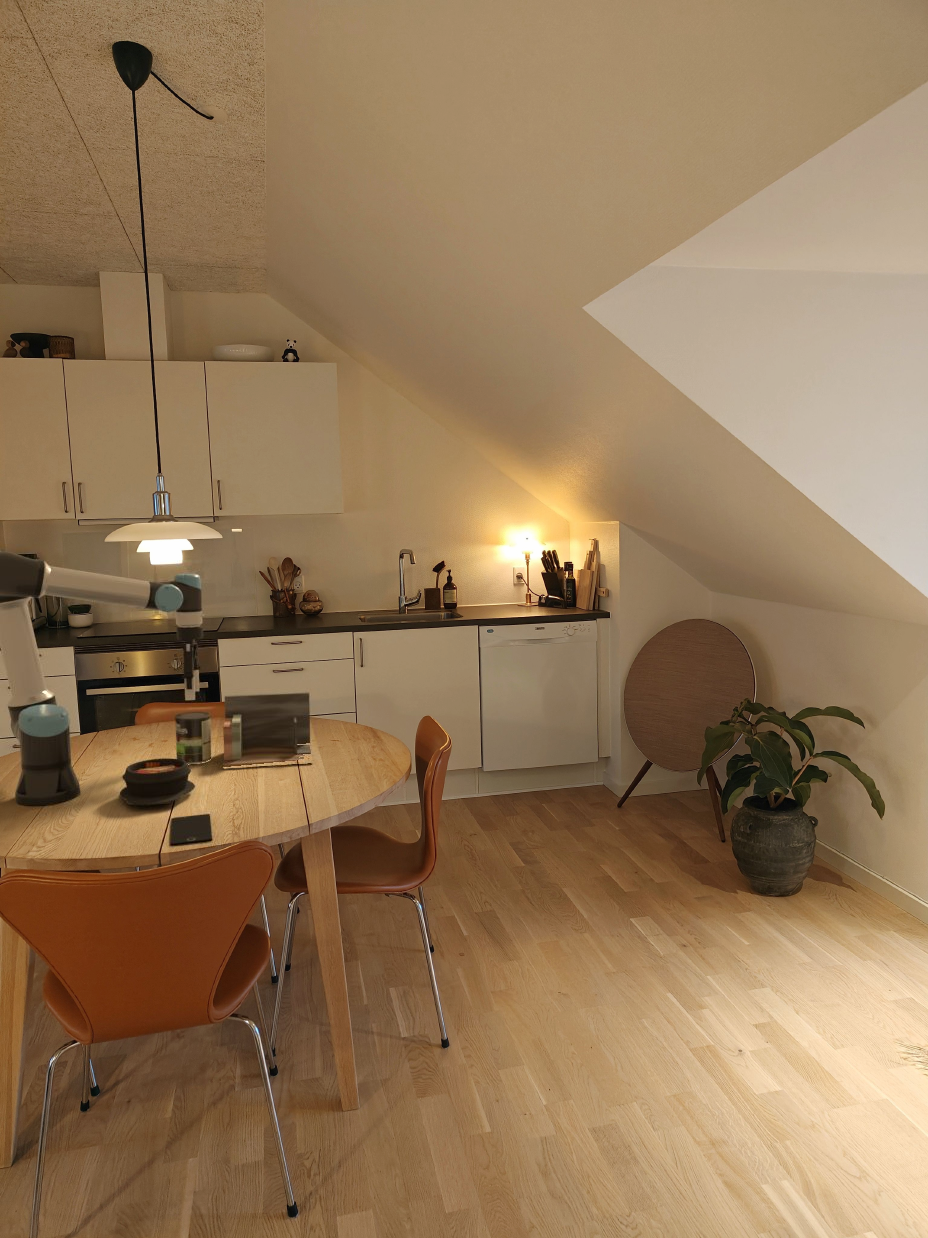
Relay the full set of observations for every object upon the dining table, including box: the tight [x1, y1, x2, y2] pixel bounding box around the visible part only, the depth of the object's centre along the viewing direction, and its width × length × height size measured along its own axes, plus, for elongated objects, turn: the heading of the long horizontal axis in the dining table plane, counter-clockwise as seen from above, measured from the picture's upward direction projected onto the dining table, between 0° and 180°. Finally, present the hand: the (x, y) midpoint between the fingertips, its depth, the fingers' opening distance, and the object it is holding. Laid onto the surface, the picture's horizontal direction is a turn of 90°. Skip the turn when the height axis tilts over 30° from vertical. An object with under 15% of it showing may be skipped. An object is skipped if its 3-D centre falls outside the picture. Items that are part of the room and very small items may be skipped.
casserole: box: [119, 757, 196, 806], centre depth 216 cm, size 25×19×8 cm
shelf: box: [222, 691, 312, 768], centre depth 253 cm, size 20×26×18 cm
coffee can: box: [174, 711, 212, 766], centre depth 250 cm, size 10×10×14 cm
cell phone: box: [170, 813, 213, 847], centre depth 192 cm, size 9×18×1 cm, turn 19°
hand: (192, 695), depth 249 cm, fingers open, 13 cm apart
